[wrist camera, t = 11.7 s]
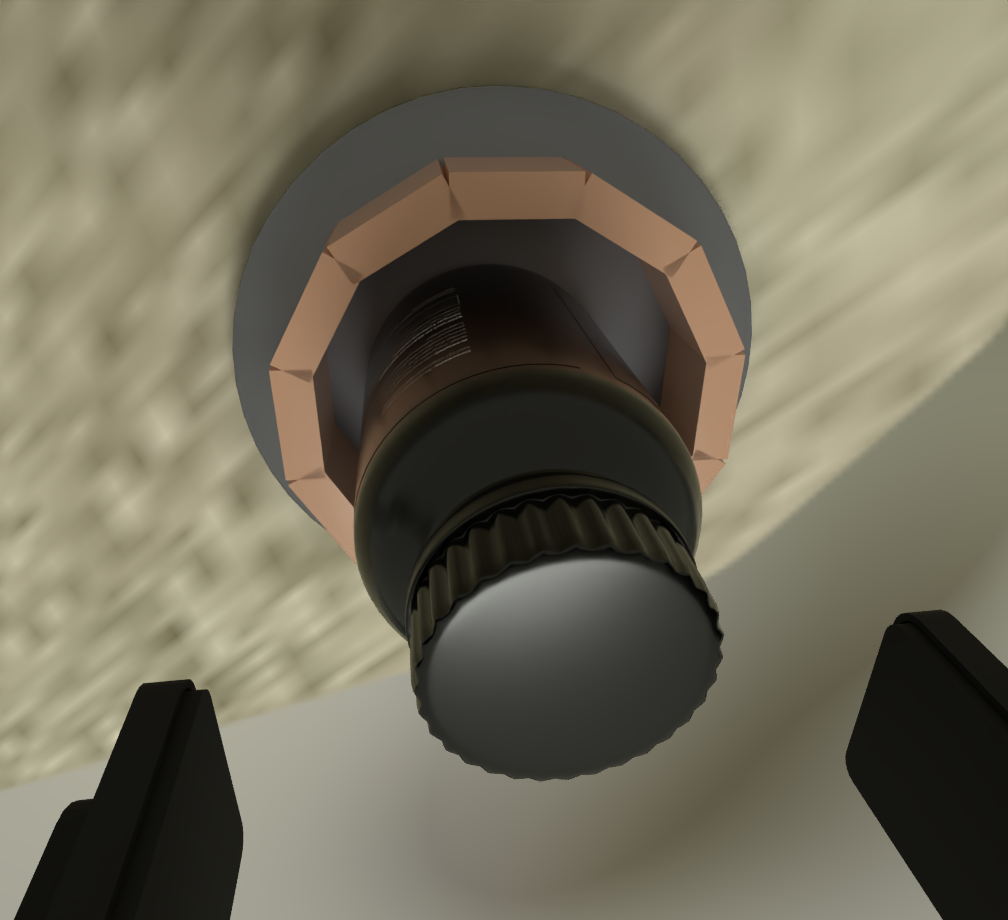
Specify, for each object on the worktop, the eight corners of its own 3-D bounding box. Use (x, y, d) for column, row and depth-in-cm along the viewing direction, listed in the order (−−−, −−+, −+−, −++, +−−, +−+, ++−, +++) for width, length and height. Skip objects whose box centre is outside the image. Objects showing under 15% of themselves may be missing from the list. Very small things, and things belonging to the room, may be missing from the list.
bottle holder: (279, 574, 25) (257, 660, 22) (195, 83, 18) (141, 87, 14) (701, 548, 27) (747, 624, 23) (775, 86, 20) (860, 90, 16)
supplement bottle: (399, 497, 23) (391, 862, 12) (339, 284, 20) (261, 536, 9) (614, 454, 23) (785, 778, 13) (590, 235, 20) (797, 426, 9)
